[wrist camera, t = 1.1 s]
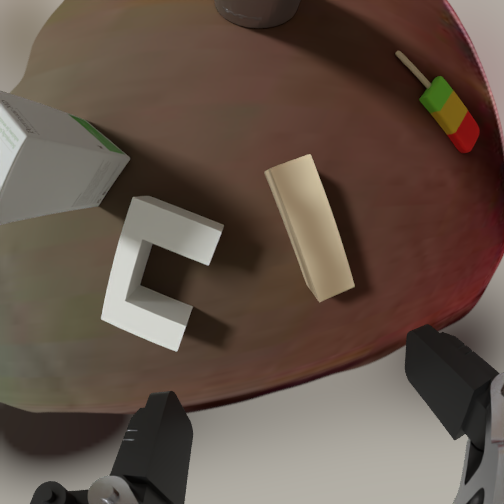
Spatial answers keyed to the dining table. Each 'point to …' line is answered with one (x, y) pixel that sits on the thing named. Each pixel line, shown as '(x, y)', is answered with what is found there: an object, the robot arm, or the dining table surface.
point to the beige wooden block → (310, 226)
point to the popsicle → (446, 109)
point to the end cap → (134, 262)
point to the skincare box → (51, 161)
